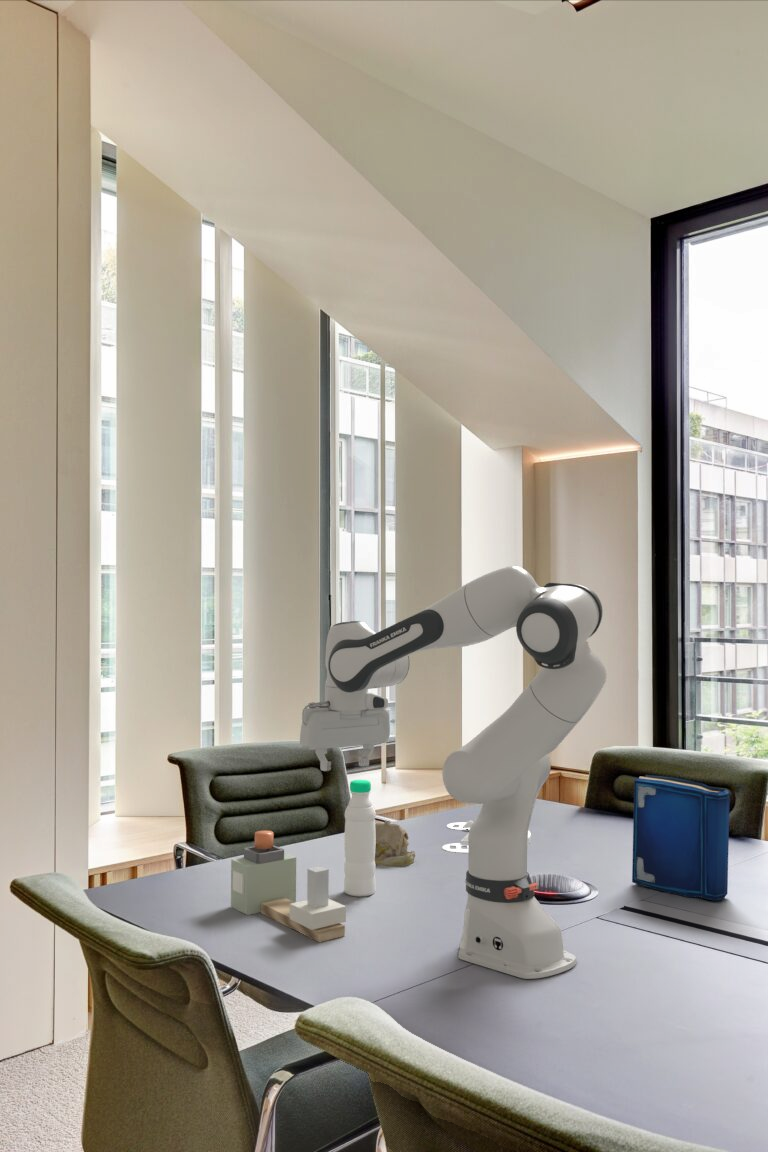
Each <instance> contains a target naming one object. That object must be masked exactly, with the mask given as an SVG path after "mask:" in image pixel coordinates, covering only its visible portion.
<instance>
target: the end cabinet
mask: <svg viewBox="0 0 768 1152" xmlns="http://www.w3.org/2000/svg"><path fill="white" fill-rule="evenodd" d="M230 861H231V862H230V870H231V871H230V907H231V908H233V909H235V910H236V911H239V912H241V913H243V914H245V915H247V916H249V915H254V914H257V913H261V903H264V902H269V901H274V900H278V899H283V898H286V899H289V900H291V901H293V902H297V857H296V856H294V855H291V854H289V853H286V852H285V848H282V847H280V846H277V845H274V844H273V848H270V849H257V848H255V845H254V846H247V847H244V848H243V857H237V858H231V859H230Z"/></svg>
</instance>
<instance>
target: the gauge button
mask: <svg viewBox="0 0 768 1152" xmlns="http://www.w3.org/2000/svg"><path fill="white" fill-rule="evenodd" d="M273 845H274V832H273V831H272V830H257V831H255V832H254V846H255V848H257V849H270V848H273Z"/></svg>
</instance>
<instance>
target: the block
mask: <svg viewBox="0 0 768 1152" xmlns="http://www.w3.org/2000/svg"><path fill="white" fill-rule="evenodd" d="M291 903H295V902H293V901H291V900H289V899H286V898H283V899H278V900H274V901H269V902H264V903H261V912H260V914H262V915H265V916H266V917H268V918H270V919H271V920H274V921H276V922H278V923H280V924H282V925H284V926H286V927H288V928H290V927H291V928H290V929H292V928H293V929H295V930H297V931H299V932H300V934H301V933H302V935H303V934H304V936H305V935H307V936H308V937H307V936H306V937H307V938H309V937H310V939H311V938H312V939H311V940H313V939H314V940H313V941H315V940H316V941H315V942H317V941H318V942H317V943H322V941H323V942H327V941H330V939H331V940H334V939H333V938H335V939H338V937H339V938H342V936H343V937H345V934H346V933H345V931H346V930H345V929H346V927H345V926H346V925H345V924H342V923H338V924H334V925H330V926H326V927H322V928H318V929H314V930H311V929H309V928H307V927H305V926H303V925H301V924H299V923H297V922H295V921H293V920H291V919H290V904H291ZM293 929H292V930H293ZM295 930H294V931H295ZM297 931H296V932H297ZM299 932H298V933H299Z"/></svg>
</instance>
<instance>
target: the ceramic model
mask: <svg viewBox="0 0 768 1152" xmlns="http://www.w3.org/2000/svg"><path fill="white" fill-rule="evenodd" d="M400 825H401V824H395V823H391V821H390V820H385V821H384V823H381V822H377V823H376V822H375V830H376V847H375V866H376V865H377V866H386V867H387V866H391V867H404V866H405V867H406V866H410V865H411V864H413V863H414V862H415V857H416V853H415V851H414V850H411V851H408V846H409V845H410V844H409V835H408V832H407V830H406V829H404V828H403V827H402V826H400Z"/></svg>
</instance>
